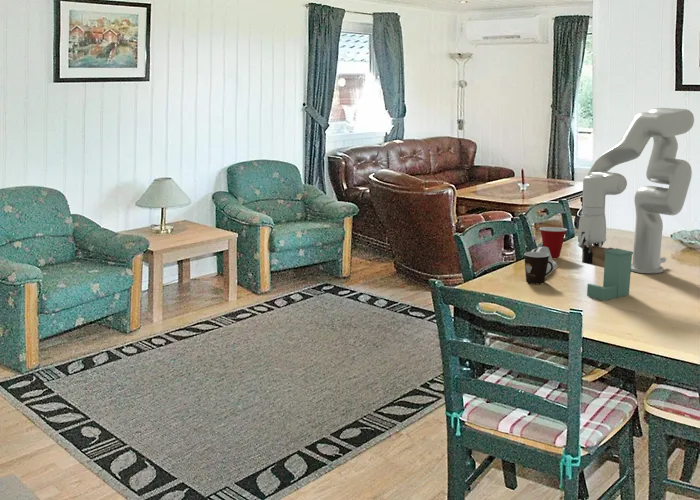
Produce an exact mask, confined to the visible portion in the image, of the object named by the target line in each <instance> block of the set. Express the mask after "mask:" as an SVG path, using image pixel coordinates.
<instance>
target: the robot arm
mask: <svg viewBox="0 0 700 500" xmlns="http://www.w3.org/2000/svg"><path fill="white" fill-rule="evenodd" d="M694 122H695V116H694V113H692V111H691V110H690V109H687V108H686V109H685V108H673V107H672V108H671V107H655V108H652V109H650V110H649V111H648V112H639V113H637V114H636V115H635V116H634V117H633V119H632V120H631V122H630V123H629V125H628V127H627V128H626V130H625V132H624V134H623V135H622V137H621V138H620V140H619V141H618V143H617V144H616V145H615V146H613V147H611V148H610V149H609V150H607V151H605V152H604V153H603V154H601V155H600V156H598V158H597V159H596V160H595V161H594V162H593V164H592V166H591V167H590V168H589V171H588V172H587V175H586V176H584V177H583V181H582V208H581V209H582V211H581V212H582V213H581V215H580V218H579V223H578V229H577V230H578V233H577V242H578V244H577V245H578V247H579V248H581V250H582V249H583V252H584V263H583V264H586V263H588V264H587V265H590V264H592V253H591V249H592V245H594V246H599V247H603V245H604V244H605V242H606V241H607V218H606V214H605V213H606V196H616V195H620V194H622V193H623V192H624V191H625V190H626V189H627V187H628V180H627V179H626V177H625V176H624V175H623V174H620V173H617V172H610V170H611V169H612V168H614V167H616V166H618V165H621V164H623V163H627V162H631V161H633V160H635V159H638V158H639V157H640V156H641V154H642V153H643V151H644V149H645V147H646V146H647V145H648V143H649V141H650V139H651V138H652V139H653V145H652V150H651V152H650V153H651V154H650V157H649V159H648V164H647V167H646V173H645V175H646V179H647V180H648V181H649V182H652V183H654V184H661V185H666V186H668V187H663V186H653V185H643V186H641V187H640V188H637V190H636V191H635V194H634V200H633V201H634V208H635V209H634V210H635V226H634V241H633V251H632V252H633V254H632V263H631V272H635V273H638V274H639V273H640V274H649V275H653V274H654V275H655V274H661V273H663V272H664V271H665V270H664V267H663V266H661V264H662V263H666V262H667V258H666V257H665V256H664V257H661V253H662V252H661V251H662V239H663V238H662V237H663V229H664V225H663V218H662V216H661V215H666V216H675V215H678V214H679V213H680V212H681V211H682V209H683V207H684V205H685V202H686V198H687V194H688V191H689V187H690V183H691V181H692V176H693V172H692V171H693V170H692V166H691V164H690V163H689V162H688V161H687V160H684V159H679V158H678V159H677V158H676V157H677V152H678V148H679V143H678V140H677V137H676V136H680V135H684V134H686V133H688V132H689V131H690V130H691V129H692V128H693V126H694V125H695V123H694ZM587 245H588V247H587Z"/></svg>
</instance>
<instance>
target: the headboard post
mask: <svg viewBox="0 0 700 500" xmlns="http://www.w3.org/2000/svg"><path fill="white" fill-rule="evenodd" d="M632 262H633V251H631V250H627V249H622V248H617V247H616V248H615V249H611V250H606V251H605V266H604V268H603V269H604V270H603V280H602V281H603V282H602V284H603V285H602V286H601V285H597V284H593V283H588V284H587V285H586V287H587V288H586V289H587V290H586V296H587V297H591V298H594V299H598V300H600V301H603V302H605V301H608V300H612V299H617V298H621V297H626V296H629V295H630V285H631V273H632V271H631V264H632Z"/></svg>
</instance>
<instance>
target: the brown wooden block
mask: <svg viewBox="0 0 700 500" xmlns="http://www.w3.org/2000/svg"><path fill="white" fill-rule="evenodd" d="M587 247H588V245H587ZM611 249H616V248H614V247H603V246H602V247H599V246H594V245H593V244H592V249H591V253H592V264H588V263H584V252H583V249H582V248H581V250H582V253H581V254H582V256H581V263H583V264H587V265H591V266H595V267H600V268H603V269H604V266H605V251H606V250H611Z"/></svg>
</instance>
